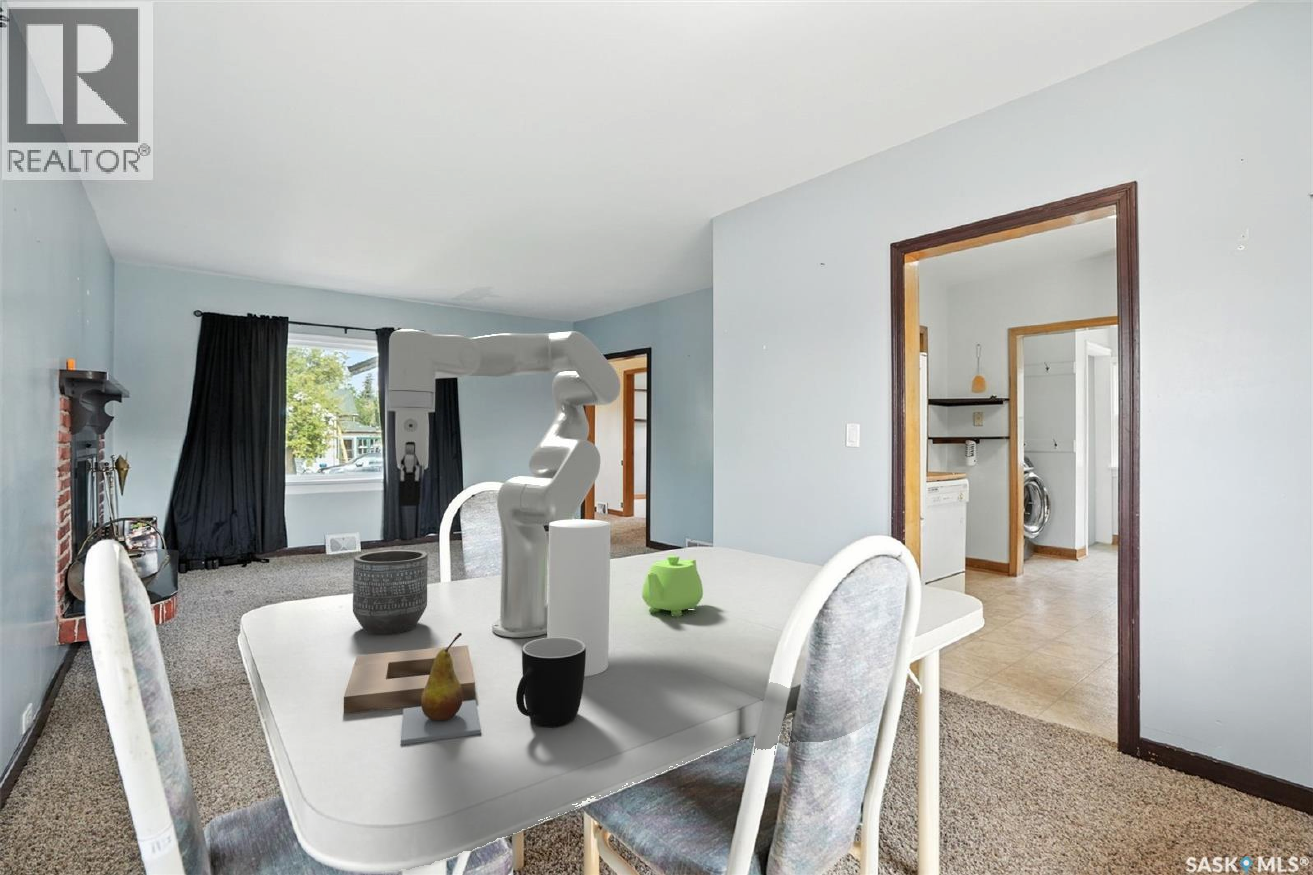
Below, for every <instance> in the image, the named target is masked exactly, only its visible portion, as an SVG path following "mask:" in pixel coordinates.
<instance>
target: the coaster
mask: <svg viewBox="0 0 1313 875" xmlns="http://www.w3.org/2000/svg"><path fill="white" fill-rule="evenodd" d="M477 706H478V705H477V700H476V699H470V700H463V702H462V705H461V707H460V709H459V711H458V712H457V713H456V714H455V715H454V716H453V717H452V718H450V719H448V720H445V721H435V720H431V719H429V718H428V717H426V716H425V714H424V713H423V710H422V707H421V706H412V707H404V708H403V710H402V720H401V731H400V732H401V733H400V746H402V745H409V744H417V743H423V742H431V741H439V740H445V739H447V740H448V739H453V738H460V737H467V736H468V737H469V736H475V735H481V734H482V730H481V722H480V717H479V713H478V711H479V710H478V707H477Z"/></svg>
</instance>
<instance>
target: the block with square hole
mask: <svg viewBox="0 0 1313 875" xmlns="http://www.w3.org/2000/svg"><path fill="white" fill-rule="evenodd" d="M447 647H448V646H446V647H445V646H443V647H434V648H423V649H413V650H412V649H410V650H401V651H390V652H389V651H388V652H380V653H379V652H378V653H368V654H358V655H356V657H355V661H354V664H353V667H352V670H351V673H350V676H349V679H348V682H347V686H346V689H345V691H344V695H343V715H348V714H349V715H350V714H357V713H369V712H374V711H375V712H376V711H384V710H389V709H390V710H391V709H399V708H400V709H401V708H411V707H419V706H421V697H422V693H423V691H424V688H425V686H426V684H427V682H428V678H429V675H430V672H431V669H432V666H433V663H434V660H435V658H436V656H437V654H438V653H439V652H440V651H441V650H442V649H447ZM448 651H449V653H450V656H451V659H452V663H453V668H454V672H455V674H456V677H457V679H458V681H459V683H460V685H461V687H462V691H463V701H469V700H476V699H475V698H476V697H475V696H476V694H475V692H476V691H475V689H476V688H475V687H476V682H475V676H474V670H473V666H472V660H471V655H470V649H469V645H468V644H467V645H456V646H451V647H450V648H449V649H448Z"/></svg>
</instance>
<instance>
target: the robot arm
mask: <svg viewBox="0 0 1313 875" xmlns="http://www.w3.org/2000/svg"><path fill="white" fill-rule="evenodd" d="M388 341H389V342H388V388H387V389H388V390H387V391H388V392H387V397H388V398H387V411H388V412H395V419H394V420H395V428H394V429H395V432H394V433H395V439H394V440H395V458H396V466H397V469H400V481H398V505H399V506H400V507H413V506H415V507H416V506H419V505H420V504H421V503H420V502H421V488H422V486H421V484H422V483H421V480H422V479H421V478H422V477H420V466H423V470H426V469H428V468H429V454H430V453H429V449H430V448H429V444H430V443H429V442H430V441H429V440H430V423H429V422H430V421H429V420H430V419H429V413H435V412H436V410H435V409H436V379H451V378H453V379H454V378H464V377H491V378H493V377H496V378H499V377H501V378H502V377H516V376H526V375H527V376H528V375H529V376H530V375H543V374H556V373H557V374H556V375H555V376H554V378H553V380H552V384H551V393H552V398H553V404H554V410H555V413H554V419H553V421H552V423H551V425H550V426H549V427H548V430H547V431H546V433H545V434H544V436H543V437H542V439H541V440H540V441H539V443H538V444H537V445H536V446H535V448H534V450H533V451H532V453H531V456H530V458H529V461H528V468H529V472H530V473H531V475H533V476H529V475H528V476H527V475H525V476H524V475H522V476H521V475H520V476H514V477H512V478H509V479H508V480H506V481H504V482H503V484H502V485H501V487H500V488H499V490H498V493H497V498H496V503H497V505H496V506H497V513H498V517H499V518H498V519H499V523H500V534H501V535H500V536H501V550H500V552H501V556H500V558H501V563H500V564H501V565H500V567H501V568H500V614H499V615H500V616H499V617H500V619H497V620H495V621H494V622H493V623H492V626H491V627H492V628H491V629H492V632H493V633H494V634H496V635H498V636H502V637H505V638H506V637H507V638H531V637H538V636H542V635H545V634H546V635H547V622H548V562H549V538H548V536H547V532H546V529H545V528H544V526H548V527H549V524H550V523H551V522H554V521H559V520H573V518H574V516H575V515H576V514H577V512H578V511H579V509H580V507H581V506H582V503H583V502H584V501H585V499H586V498H587V496H588V494H589V492H590V490H591V489H592V487H593V485H594V484H595V482H596V479H597V478H598V475H599V473H600V469H601V454H600V451H599V448H597V446H596V445H595V444H594V443H593V442H591V441H590V440H587V439H588V437H589V434H590V425H589V421H588V419H587V416H586V412H585V408H584V406H604V405H605V406H607V405H609V404H612V403H613V402H615V401H616V400H617V399H618V397H619V396H620V393H621V381H620V378H619V375H618V373H617V371H616V370H615V369H614V367H613V365H612V364H611V363H610V362H609V361H608V360H607V358H606V357H605V356H604V354H603V353H602V352H601V351H600V349H599V348H598V347H597V346H596V345H595V344H594V343H593V341H592V340H591V339H590V338H588V337H587V336H586V335H584V334H583V333H581V332H579V331H576V330H572V331H571V330H570V331H562V332H550V333H549V332H548V333H547V332H546V333H544V332H543V333H515V332H513V333H510V332H509V333H508V332H507V333H497V334H491V335H484V336H483V335H482V336H477V337H467V336H465V335H460V334H459V335H458V334H434V333H433V334H432V333H431V332H428V331H423V330H419V329H418V330H417V329H397V330H394V331H393V332H392V333H391V334H390V336H389V339H388Z"/></svg>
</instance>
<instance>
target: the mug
mask: <svg viewBox="0 0 1313 875" xmlns="http://www.w3.org/2000/svg"><path fill="white" fill-rule="evenodd" d="M585 660H586V647H585V644H584V643H583V642H581V641H579V640H576V639H572V638H565V637H549V638H547V637H543V638H542V637H541V638H539V639H534V640H531V641H528V642H527V643H525V644H524V645H523V647H522V650H521V665H522V666H521V668H522V677H521V678H520V680H519V682H518V685H517V688H516V689H517V690H516V694H515V696H516V697H515V699H516V700H515V701H516V702H515V703H516V706H517V709H518V711H519V712H520V713H521V714H522V715H524V716H525V717H529V720H530V721H531V722H532V723H533V724H534V725H536V726H538V727H544V728H557V727H563V726H566V725H568V724H570V723H572V722H573V721H574V720H575V718H576V717H577V715H578V713H579V710H580V706H581V703H582V702H581V701H582V696H583V689H584V682H585V677H584V674H585Z"/></svg>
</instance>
